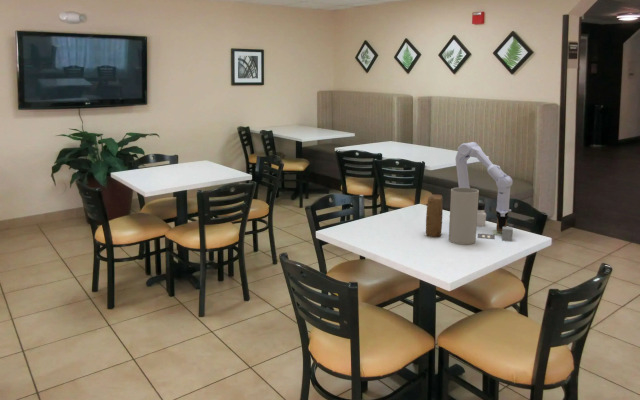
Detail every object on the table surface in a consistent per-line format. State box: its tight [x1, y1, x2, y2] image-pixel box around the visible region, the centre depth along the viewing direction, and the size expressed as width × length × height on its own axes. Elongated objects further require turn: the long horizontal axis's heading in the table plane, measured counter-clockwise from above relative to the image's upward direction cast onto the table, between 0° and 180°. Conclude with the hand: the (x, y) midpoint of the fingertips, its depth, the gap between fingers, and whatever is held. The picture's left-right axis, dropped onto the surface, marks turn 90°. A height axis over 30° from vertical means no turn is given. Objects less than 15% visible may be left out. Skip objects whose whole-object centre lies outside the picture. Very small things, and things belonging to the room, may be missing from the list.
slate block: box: [501, 226, 514, 242], centre depth 257 cm, size 4×4×6 cm
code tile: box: [477, 233, 496, 240], centre depth 263 cm, size 8×8×1 cm
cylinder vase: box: [448, 187, 480, 246], centre depth 253 cm, size 12×12×25 cm
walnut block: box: [496, 217, 508, 231], centre depth 267 cm, size 4×4×6 cm
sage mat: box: [492, 229, 502, 236], centre depth 268 cm, size 8×8×1 cm
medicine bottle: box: [477, 201, 487, 227], centre depth 283 cm, size 7×7×12 cm
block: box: [425, 194, 444, 238], centre depth 265 cm, size 11×8×20 cm
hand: (501, 227), depth 268 cm, fingers closed on walnut block, 4 cm apart
